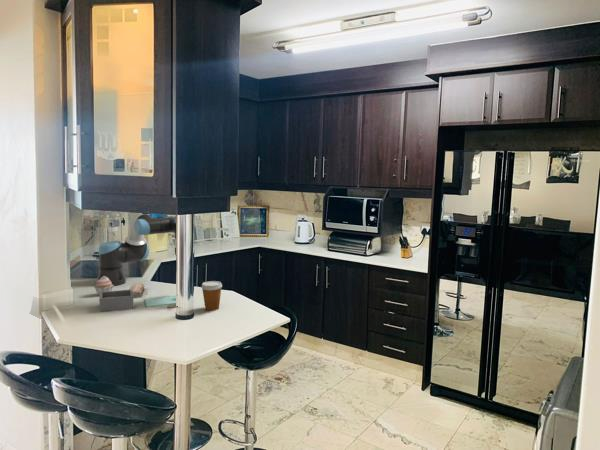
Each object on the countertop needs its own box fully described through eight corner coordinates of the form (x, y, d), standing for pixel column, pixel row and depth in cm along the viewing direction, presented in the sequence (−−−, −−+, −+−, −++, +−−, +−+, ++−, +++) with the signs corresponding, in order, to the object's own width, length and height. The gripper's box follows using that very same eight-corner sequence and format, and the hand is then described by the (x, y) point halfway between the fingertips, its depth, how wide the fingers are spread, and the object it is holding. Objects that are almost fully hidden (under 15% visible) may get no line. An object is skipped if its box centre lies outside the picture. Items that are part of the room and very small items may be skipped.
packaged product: (144, 290, 224) (123, 292, 222) (145, 300, 224) (123, 301, 222) (148, 282, 241) (128, 283, 239) (148, 290, 242) (129, 291, 240)
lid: (144, 300, 221) (144, 290, 220) (186, 296, 228) (186, 287, 227) (146, 308, 209) (146, 297, 208) (190, 303, 216) (190, 293, 215)
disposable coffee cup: (216, 312, 204) (215, 286, 203) (197, 310, 207) (197, 284, 206) (226, 306, 213) (225, 281, 212) (208, 304, 216) (207, 280, 215)
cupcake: (95, 298, 225) (94, 278, 224) (93, 294, 234) (92, 275, 232) (115, 296, 230) (114, 276, 229) (113, 291, 238) (112, 273, 237)
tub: (101, 306, 212) (100, 292, 211) (132, 303, 217) (132, 289, 216) (100, 314, 201) (99, 299, 200) (133, 310, 206) (133, 295, 205)
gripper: (172, 242, 228) (172, 283, 231) (178, 251, 205) (179, 297, 208) (187, 242, 231) (187, 282, 234) (195, 251, 208) (195, 295, 211)
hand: (183, 289), depth 221 cm, fingers open, 13 cm apart
